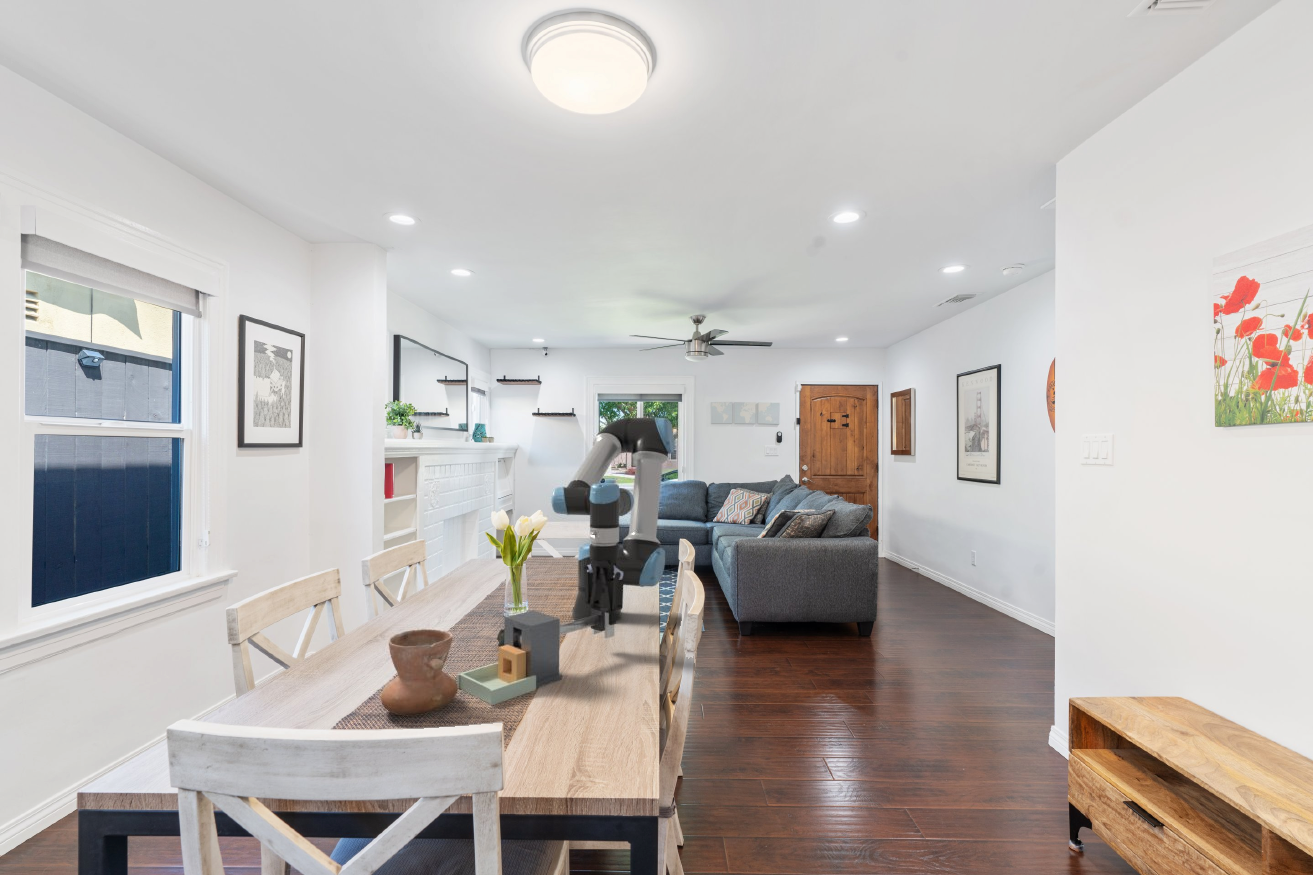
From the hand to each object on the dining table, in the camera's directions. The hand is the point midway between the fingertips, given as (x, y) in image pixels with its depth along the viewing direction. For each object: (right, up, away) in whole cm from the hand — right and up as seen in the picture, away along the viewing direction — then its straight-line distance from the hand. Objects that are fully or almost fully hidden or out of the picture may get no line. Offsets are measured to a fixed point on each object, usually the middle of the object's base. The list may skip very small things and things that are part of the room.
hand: (603, 634), depth 157 cm
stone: (-22, -5, +1) cm, 23 cm away
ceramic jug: (-35, -4, -33) cm, 48 cm away
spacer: (-19, 0, -21) cm, 28 cm away
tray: (-21, -4, -23) cm, 32 cm away
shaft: (-8, +2, -9) cm, 12 cm away
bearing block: (-15, -4, -17) cm, 23 cm away
